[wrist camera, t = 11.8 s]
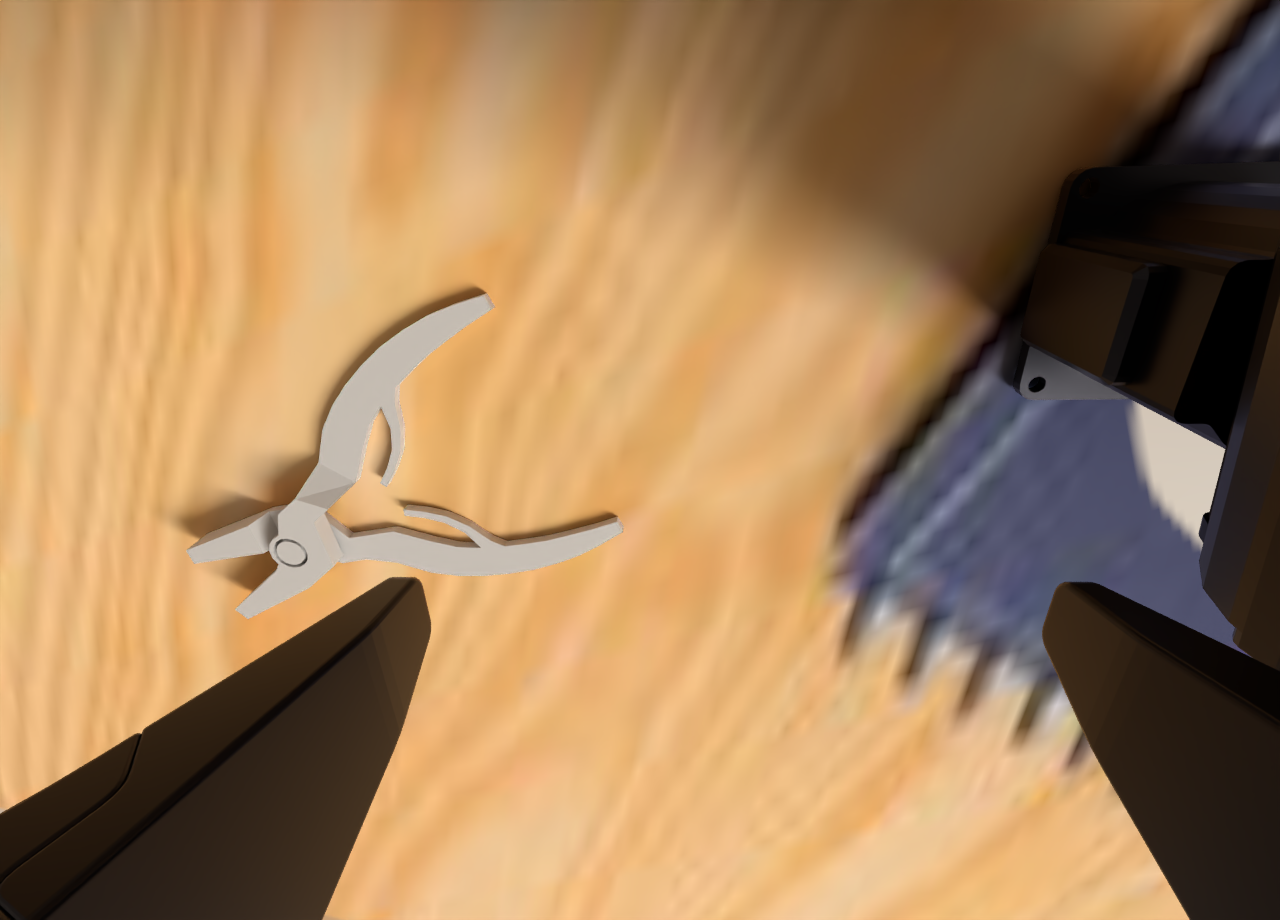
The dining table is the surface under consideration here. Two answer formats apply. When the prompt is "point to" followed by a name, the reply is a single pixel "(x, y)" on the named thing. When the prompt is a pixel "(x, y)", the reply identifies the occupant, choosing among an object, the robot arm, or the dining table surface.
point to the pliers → (319, 540)
